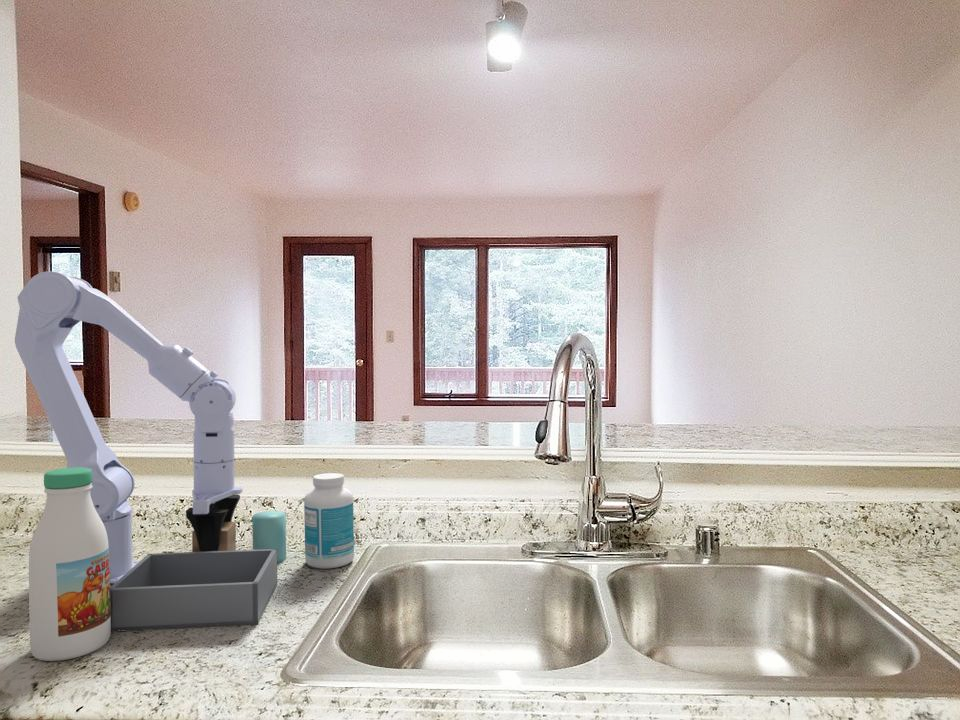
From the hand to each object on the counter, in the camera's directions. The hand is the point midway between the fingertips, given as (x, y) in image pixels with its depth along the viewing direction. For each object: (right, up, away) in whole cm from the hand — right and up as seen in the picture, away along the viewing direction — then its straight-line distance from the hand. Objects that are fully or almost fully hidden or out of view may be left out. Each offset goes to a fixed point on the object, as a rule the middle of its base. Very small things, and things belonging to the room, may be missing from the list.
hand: (214, 549), depth 100 cm
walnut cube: (0, -2, 0) cm, 2 cm away
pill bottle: (+17, -3, +2) cm, 17 cm away
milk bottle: (-6, -4, -26) cm, 27 cm away
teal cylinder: (+7, -3, +4) cm, 9 cm away
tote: (+4, -3, -14) cm, 15 cm away
